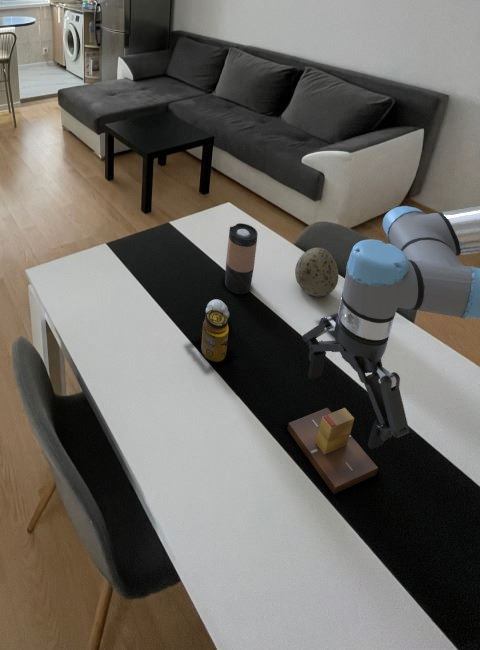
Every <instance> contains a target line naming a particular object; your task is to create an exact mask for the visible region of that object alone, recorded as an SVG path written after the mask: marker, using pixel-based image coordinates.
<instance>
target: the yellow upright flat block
mask: <svg viewBox="0 0 480 650" xmlns="http://www.w3.org/2000/svg"><path fill="white" fill-rule="evenodd" d="M354 422H355V417H354V416H353V415H352V414H351V412H349V410H347V408H346V407H343V408H341V409H338V410H335V411H332V413H331V414H328V415H326V416H323V417H322V419H321V424H320V428H319V432H318V436H317V440H316V444H317V445H318V447H319V448H320V449H321V451H322V452H323V453H324V455H325V454H327V453H329V452H332V451H334V450H336V449H339V448H341V447H343V446H346V445H347V443H348V439H349V436H350V435H351V432H352V430H353V426H354Z"/></svg>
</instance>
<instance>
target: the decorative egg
mask: <svg viewBox="0 0 480 650" xmlns="http://www.w3.org/2000/svg"><path fill="white" fill-rule="evenodd" d="M294 275H295V276H294V277H295V280H296V282H297V285H298V286H299V287H300V288H301V290H302V291H304V292H305V293H306V294H307V295H310V296H313V297H317V298H318V297H325V296H328V295H330V294H332V292H333V291H334V290H336V287H337V285H338V283H339V268H338V265H337V262H336V259H335V258H334V257H333V255H332V253H330V251H328V250H327V249H325V248H323V247H312V248H310V249H308V250H306V251H305V252H304V253H302V254H301V255H300V256H299V258H298V260H297V262H296V264H295V268H294Z"/></svg>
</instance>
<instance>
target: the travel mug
mask: <svg viewBox="0 0 480 650" xmlns="http://www.w3.org/2000/svg"><path fill="white" fill-rule="evenodd" d="M257 242H258V231H257V229H256V228H255V227H254V226H252V225H250V224H247V223H241V222H239V223H236V224H235V225H233V226H230V227H229V231H228V241H227V248H226V257H225V258H226V259H225V276H224V286H225V287H226V289H227V290H228V291H230V292H231V293H233V294H235V295H246V294H248V293H249V292H250V291H251V286H252V281H253V276H254V270H255V261H256V253H257V245H258V243H257Z"/></svg>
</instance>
